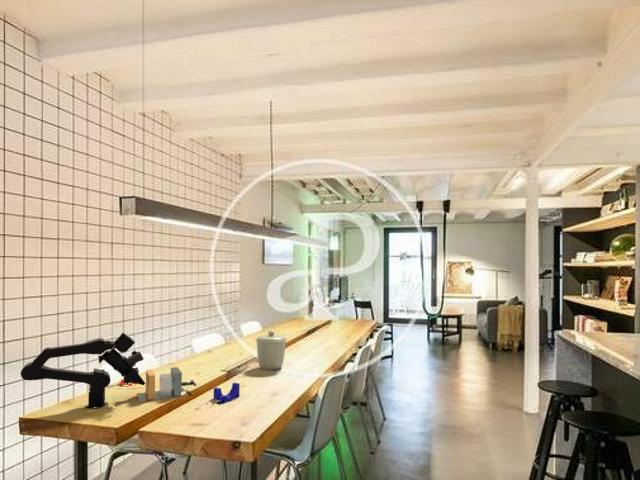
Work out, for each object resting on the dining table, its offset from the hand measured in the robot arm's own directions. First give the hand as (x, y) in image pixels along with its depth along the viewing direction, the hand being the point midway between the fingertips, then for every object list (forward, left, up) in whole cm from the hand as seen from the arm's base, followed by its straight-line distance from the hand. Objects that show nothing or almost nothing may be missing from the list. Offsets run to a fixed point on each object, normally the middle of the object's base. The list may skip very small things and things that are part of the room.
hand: (144, 384), depth 192 cm
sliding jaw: (+1, -2, -5) cm, 6 cm away
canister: (+68, -40, -7) cm, 79 cm away
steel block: (+5, -7, -5) cm, 10 cm away
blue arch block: (+6, -35, -7) cm, 37 cm away
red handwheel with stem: (+24, +21, -7) cm, 33 cm away
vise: (+5, -7, -7) cm, 11 cm away
